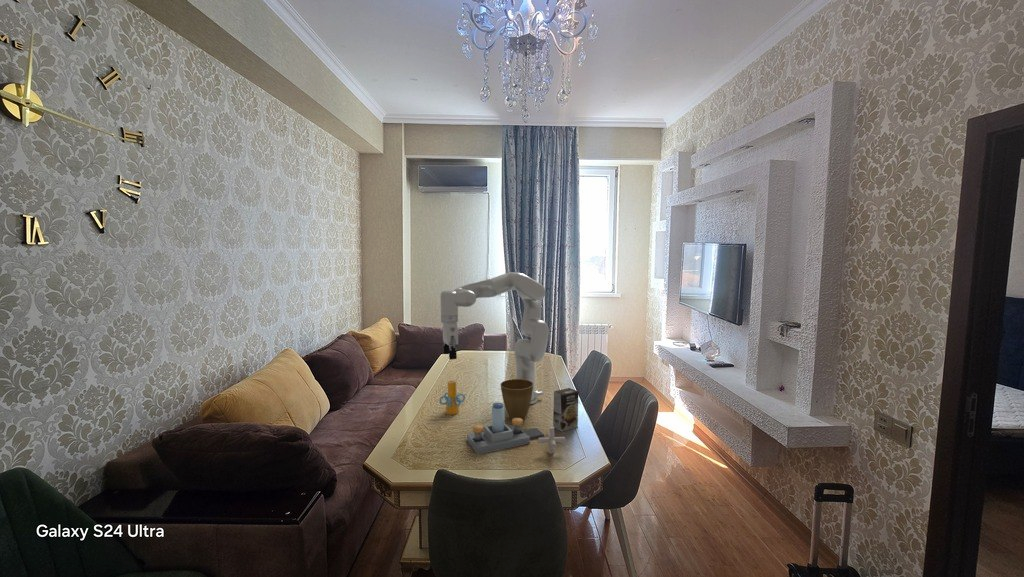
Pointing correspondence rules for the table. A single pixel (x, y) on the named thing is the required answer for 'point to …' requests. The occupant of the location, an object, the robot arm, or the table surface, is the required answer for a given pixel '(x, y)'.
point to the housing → (497, 439)
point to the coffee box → (565, 409)
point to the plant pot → (517, 397)
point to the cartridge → (497, 418)
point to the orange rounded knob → (478, 431)
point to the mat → (534, 433)
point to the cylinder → (452, 399)
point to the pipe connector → (551, 440)
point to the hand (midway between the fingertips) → (450, 356)
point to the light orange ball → (517, 424)
